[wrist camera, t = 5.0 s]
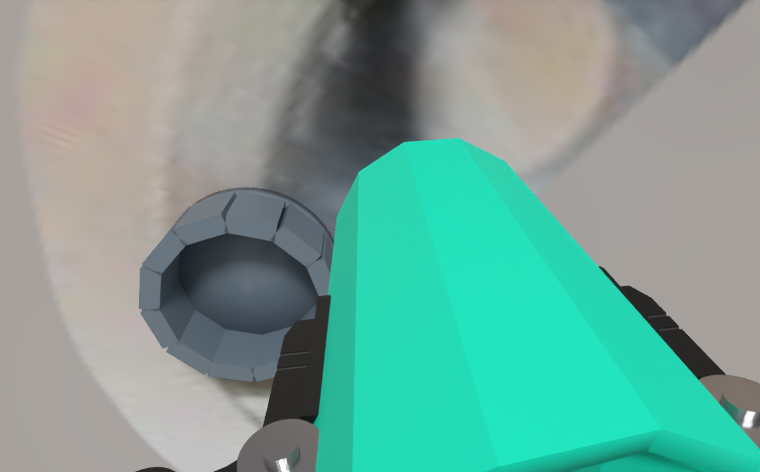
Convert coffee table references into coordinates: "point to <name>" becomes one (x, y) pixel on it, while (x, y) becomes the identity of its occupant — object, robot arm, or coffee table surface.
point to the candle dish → (235, 281)
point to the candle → (494, 338)
